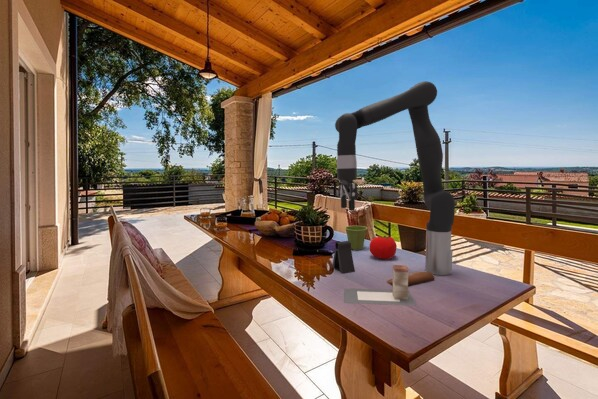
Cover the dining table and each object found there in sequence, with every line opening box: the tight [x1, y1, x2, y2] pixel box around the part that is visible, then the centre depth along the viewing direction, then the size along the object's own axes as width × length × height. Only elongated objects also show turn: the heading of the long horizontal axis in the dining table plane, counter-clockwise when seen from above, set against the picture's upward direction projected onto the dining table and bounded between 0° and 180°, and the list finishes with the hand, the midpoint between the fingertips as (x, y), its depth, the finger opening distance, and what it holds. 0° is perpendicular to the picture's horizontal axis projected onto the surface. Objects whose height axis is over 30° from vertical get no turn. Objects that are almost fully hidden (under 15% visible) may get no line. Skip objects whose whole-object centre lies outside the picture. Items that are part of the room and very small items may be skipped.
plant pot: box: [344, 225, 368, 251], centre depth 166 cm, size 12×12×11 cm
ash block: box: [392, 264, 409, 300], centre depth 102 cm, size 4×4×10 cm
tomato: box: [368, 235, 398, 260], centre depth 149 cm, size 13×12×11 cm
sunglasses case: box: [386, 271, 435, 287], centre depth 116 cm, size 18×7×7 cm
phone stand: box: [331, 240, 356, 274], centre depth 133 cm, size 9×6×12 cm, turn 21°
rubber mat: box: [343, 287, 418, 307], centre depth 103 cm, size 22×12×1 cm, turn 82°
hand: (347, 209), depth 123 cm, fingers open, 8 cm apart
